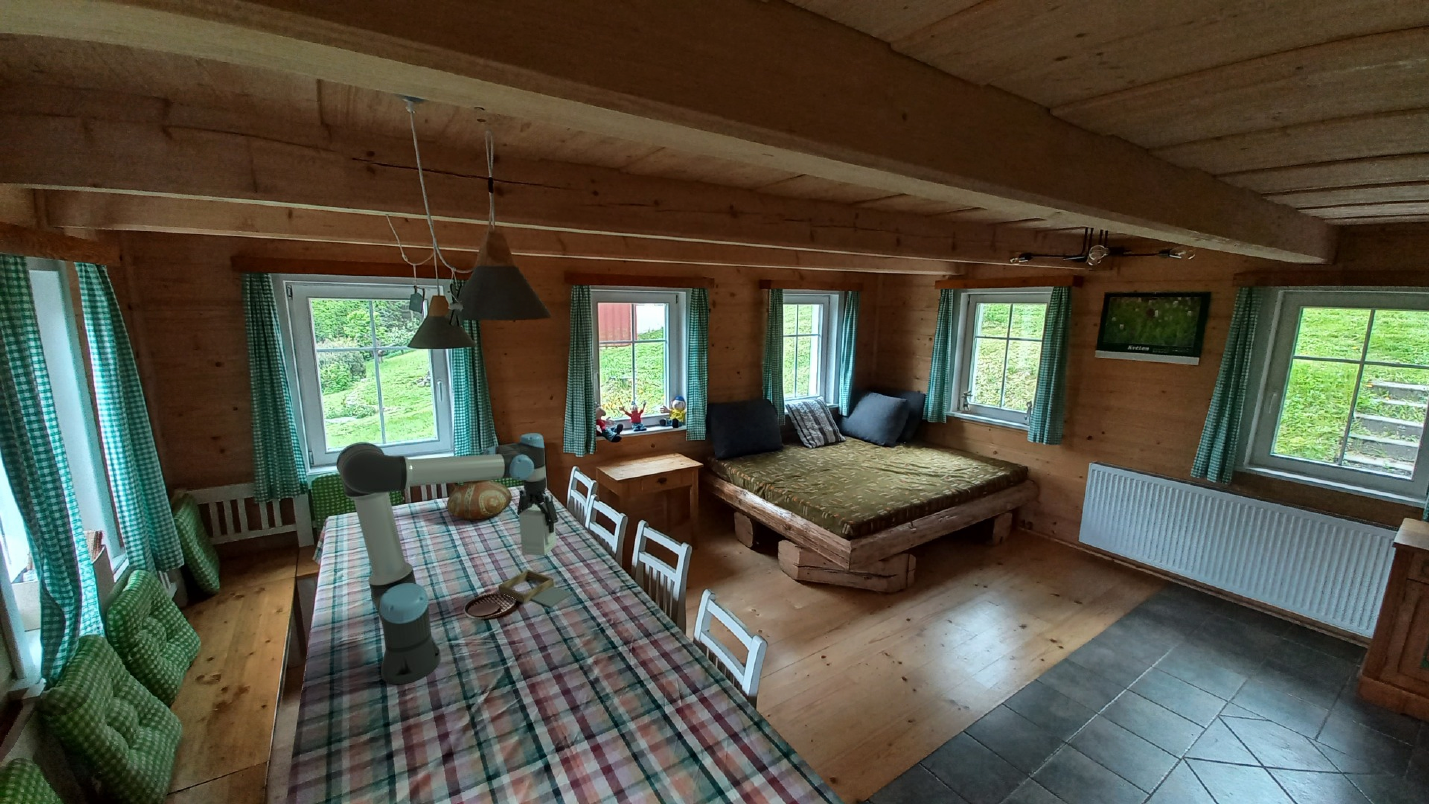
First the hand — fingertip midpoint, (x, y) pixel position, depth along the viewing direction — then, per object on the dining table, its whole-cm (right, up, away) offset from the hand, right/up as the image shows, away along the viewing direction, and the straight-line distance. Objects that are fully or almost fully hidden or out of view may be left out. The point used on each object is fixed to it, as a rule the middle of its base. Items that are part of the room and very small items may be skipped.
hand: (538, 537), depth 191 cm
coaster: (+4, -22, +2) cm, 22 cm away
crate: (-7, -21, +7) cm, 23 cm away
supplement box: (0, -5, +1) cm, 5 cm away
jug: (-54, -8, +79) cm, 96 cm away
